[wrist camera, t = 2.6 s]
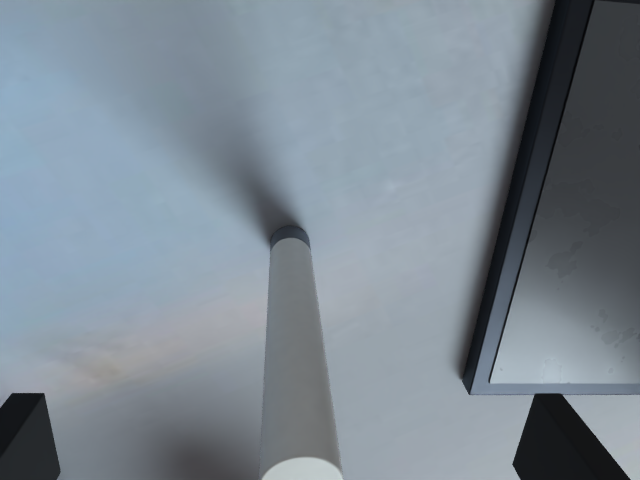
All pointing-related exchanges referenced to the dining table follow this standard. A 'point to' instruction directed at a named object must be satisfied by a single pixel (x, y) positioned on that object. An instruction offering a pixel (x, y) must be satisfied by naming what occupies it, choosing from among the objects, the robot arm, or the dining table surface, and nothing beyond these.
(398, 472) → the dining table surface
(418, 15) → the dining table surface
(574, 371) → the tablet
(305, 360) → the stylus
